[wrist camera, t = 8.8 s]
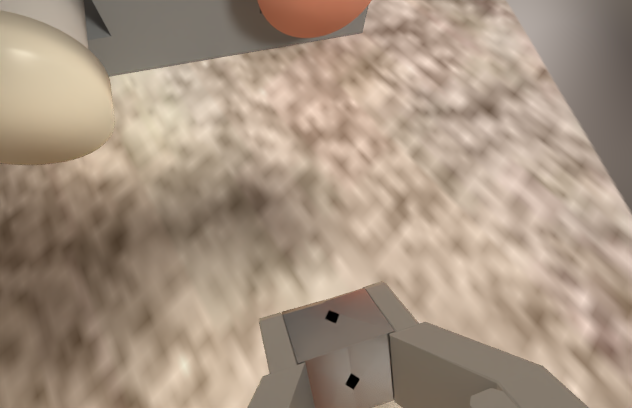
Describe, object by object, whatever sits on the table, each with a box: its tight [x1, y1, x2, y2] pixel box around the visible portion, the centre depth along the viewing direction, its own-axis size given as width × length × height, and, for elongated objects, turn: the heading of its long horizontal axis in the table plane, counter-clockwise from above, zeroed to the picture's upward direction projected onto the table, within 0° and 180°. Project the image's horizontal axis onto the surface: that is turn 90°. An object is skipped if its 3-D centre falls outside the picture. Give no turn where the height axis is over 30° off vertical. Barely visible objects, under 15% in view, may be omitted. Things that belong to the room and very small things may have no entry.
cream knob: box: [0, 0, 115, 165], centre depth 17 cm, size 7×8×7 cm
